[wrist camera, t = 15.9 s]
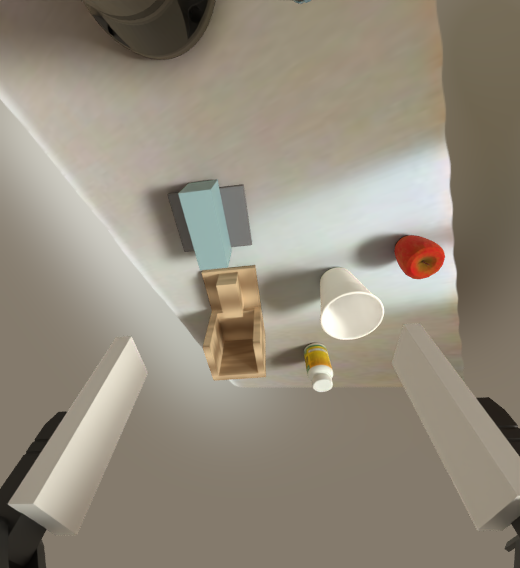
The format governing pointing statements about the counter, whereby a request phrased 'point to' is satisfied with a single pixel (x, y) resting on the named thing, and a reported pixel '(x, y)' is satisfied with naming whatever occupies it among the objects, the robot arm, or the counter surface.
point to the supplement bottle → (318, 367)
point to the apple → (418, 256)
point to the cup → (347, 306)
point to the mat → (233, 214)
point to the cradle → (234, 324)
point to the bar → (206, 223)
